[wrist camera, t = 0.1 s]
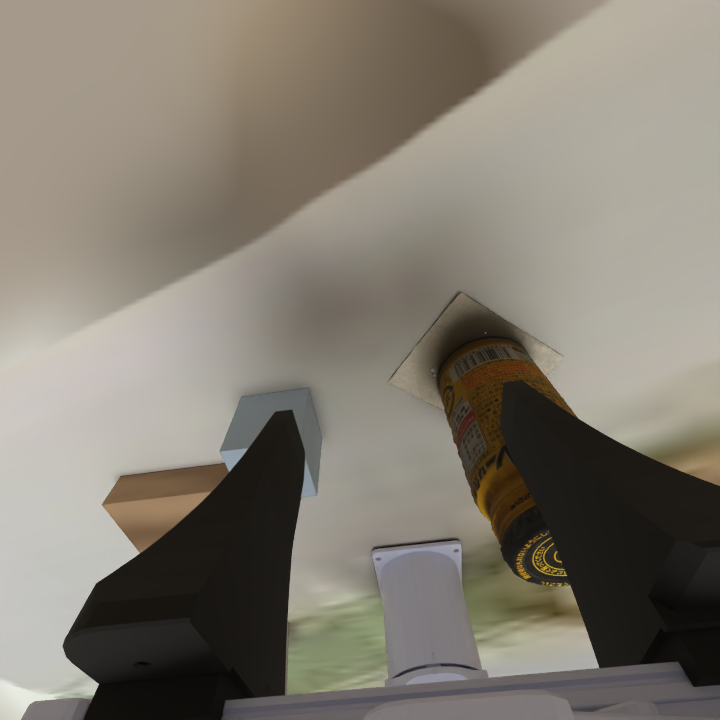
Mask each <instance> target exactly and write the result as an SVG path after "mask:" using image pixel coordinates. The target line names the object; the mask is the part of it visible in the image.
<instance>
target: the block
mask: <svg viewBox="0 0 720 720" xmlns="http://www.w3.org/2000/svg"><path fill="white" fill-rule="evenodd" d="M291 409H292V410H293V413H294V416H295V420H296V423H297V426H298V430H299V433H300V436H301V439H302V443H303V446H304V449H305V471H304V482H303V489H302V494H301V498H302V497H310V496H317V491H318V479H319V468H320V457H321V445H322V436H321V432H320V428H319V425H318V421H317V417H316V414H315V410H314V406H313V403H312V399H311V395H310V392H309V388H304V389H296V390H289V391H281V392H274V393H266V394H259V395H251V396H244V397H241V399H240V402H239V404H238V407H237V409H236V412H235V414H234V417H233V419H232V422H231V424H230V427H229V429H228V432H227V434H226V437H225V439H224V442H223V444H222V447H221V449H220V454H221V456H222V458H223V460H224V462H225V464H226V466H227V469H228V471H229V472H230V471H231V469H232V468H233V467H234V466H235V465H236V463H237V462H238V461H239V460H240V459H241V457H242V456H243V455H244V453H245V452H246V451H247V449H248V448H249V447H250V445H251V444H252V443H253V441H254V440H255V439H256V437H257V436H258V434H259V433H260V432H261V430H262V429H263V427H264V426H265V425H266V423H267V422H268V420H269V419H270V418H271V416H272V415H273V414H274V412H276V411H283V410H291Z"/></svg>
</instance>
